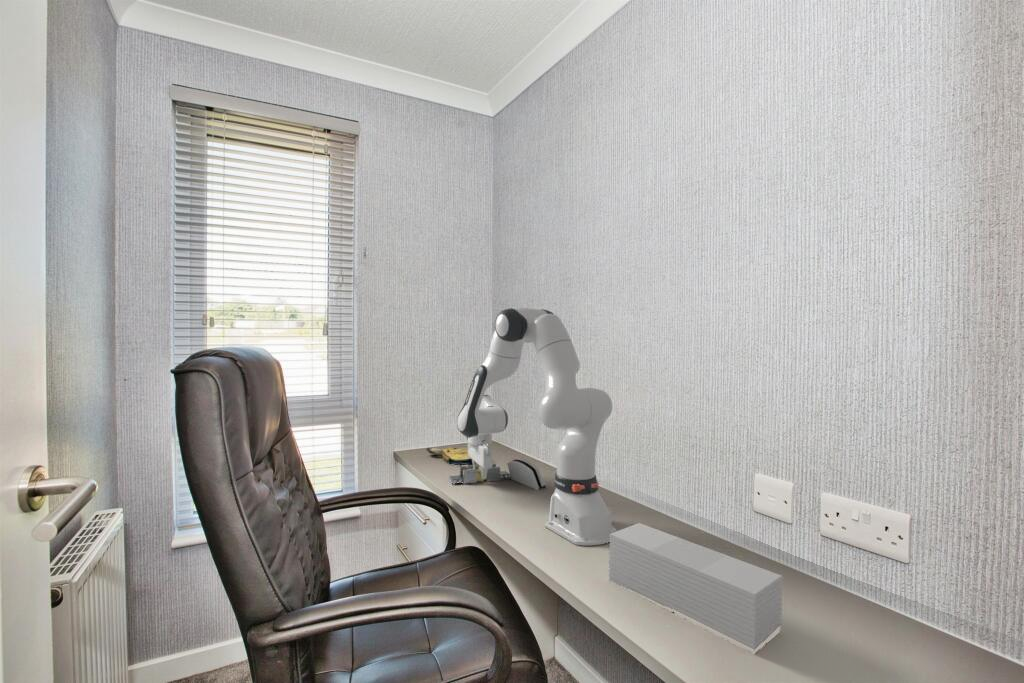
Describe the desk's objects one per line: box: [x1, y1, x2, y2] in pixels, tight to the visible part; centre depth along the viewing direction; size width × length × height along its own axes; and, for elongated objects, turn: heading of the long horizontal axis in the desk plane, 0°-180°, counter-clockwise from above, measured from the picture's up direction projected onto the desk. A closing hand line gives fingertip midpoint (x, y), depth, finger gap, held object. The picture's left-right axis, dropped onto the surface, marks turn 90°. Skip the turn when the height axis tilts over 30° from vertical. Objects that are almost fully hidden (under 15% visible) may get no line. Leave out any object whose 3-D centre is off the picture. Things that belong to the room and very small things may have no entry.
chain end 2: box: [485, 463, 510, 483], centre depth 185 cm, size 6×9×5 cm, turn 111°
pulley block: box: [425, 447, 473, 466], centre depth 212 cm, size 14×6×30 cm
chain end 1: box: [449, 464, 478, 484], centre depth 181 cm, size 6×9×5 cm, turn 111°
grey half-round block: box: [507, 457, 548, 491], centre depth 180 cm, size 17×5×10 cm, turn 34°
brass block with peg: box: [477, 468, 486, 482], centre depth 183 cm, size 2×12×5 cm, turn 110°
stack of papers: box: [608, 522, 783, 650], centre depth 100 cm, size 32×11×11 cm, turn 39°
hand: (479, 474), depth 183 cm, fingers open, 8 cm apart
